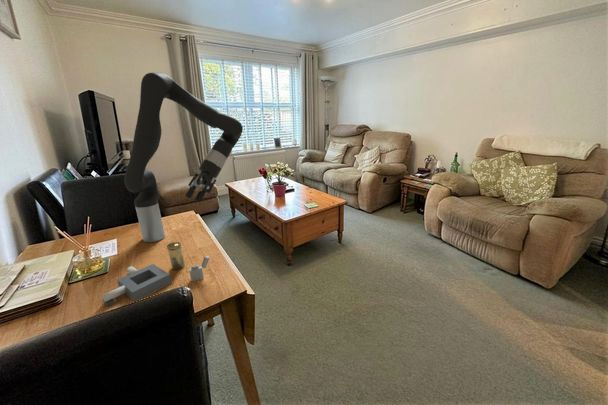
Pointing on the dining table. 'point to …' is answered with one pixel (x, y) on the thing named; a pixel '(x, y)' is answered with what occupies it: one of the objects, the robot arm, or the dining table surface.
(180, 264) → the gold cylindrical piece
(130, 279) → the shaft housing
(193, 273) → the lighter
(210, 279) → the dining table surface
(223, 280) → the dining table surface
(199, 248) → the dining table surface
